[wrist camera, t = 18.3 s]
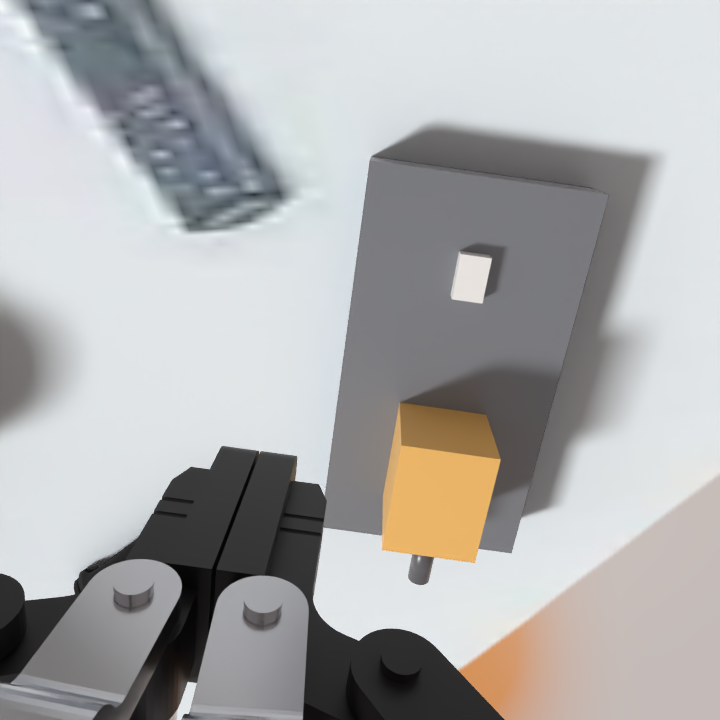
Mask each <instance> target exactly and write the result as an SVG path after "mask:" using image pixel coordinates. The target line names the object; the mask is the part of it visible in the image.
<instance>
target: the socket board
mask: <svg viewBox="0 0 720 720" xmlns="http://www.w3.org/2000/svg"><path fill="white" fill-rule="evenodd" d="M608 197H609V195H608V194H606V193H603V192H600V191H598V190H595V189H592V188H587V187H580V186H573V185H566V184H559V183H552V182H545V181H539V180H532V179H525V178H518V177H511V176H504V175H497V174H490V173H483V172H476V171H469V170H462V169H455V168H448V167H441V166H434V165H427V164H420V163H413V162H406V161H399V160H392V159H385V158H378V157H371V159H370V163H369V171H368V178H367V185H366V193H365V200H364V208H363V215H362V223H361V230H360V238H359V245H358V253H357V260H356V268H355V275H354V283H353V290H352V297H351V305H350V312H349V320H348V327H347V335H346V342H345V350H344V357H343V365H342V372H341V380H340V387H339V395H338V402H337V410H336V417H335V424H334V432H333V439H332V447H331V454H330V462H329V469H328V477H327V484H326V492H325V498H326V500H327V504H326V511H325V519H324V526H323V527H324V528H332V529H339V530H346V531H354V532H361V533H368V534H375V535H382V518H383V493H384V487H385V482H386V476H387V471H388V465H389V459H390V454H391V448H392V442H393V437H394V431H395V426H396V420H397V414H398V409H399V403H407V404H414V405H421V406H428V407H435V408H442V409H449V410H456V411H463V412H470V413H477V414H484V415H487V418H488V421H489V425H490V428H491V431H492V434H493V437H494V440H495V443H496V446H497V449H498V452H499V455H500V459H501V461H500V465H499V469H498V473H497V477H496V481H495V485H494V489H493V493H492V496H491V500H490V504H489V508H488V512H487V516H486V520H485V524H484V528H483V532H482V536H481V540H480V544H479V548H478V549H485V550H492V551H499V552H506V553H512V549H513V545H514V542H515V538H516V534H517V531H518V527H519V523H520V520H521V516H522V512H523V509H524V505H525V501H526V498H527V494H528V490H529V487H530V483H531V479H532V476H533V472H534V468H535V465H536V461H537V457H538V454H539V450H540V446H541V443H542V439H543V435H544V432H545V428H546V424H547V421H548V417H549V413H550V410H551V406H552V402H553V399H554V395H555V391H556V388H557V384H558V380H559V377H560V373H561V369H562V366H563V362H564V358H565V355H566V351H567V347H568V344H569V340H570V336H571V333H572V329H573V325H574V321H575V318H576V314H577V310H578V307H579V303H580V299H581V296H582V292H583V288H584V285H585V281H586V277H587V274H588V270H589V266H590V263H591V259H592V255H593V252H594V248H595V244H596V241H597V237H598V233H599V230H600V226H601V222H602V219H603V215H604V211H605V208H606V204H607V200H608Z"/></svg>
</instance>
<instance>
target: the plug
mask: <svg viewBox="0 0 720 720" xmlns="http://www.w3.org/2000/svg"><path fill="white" fill-rule="evenodd" d="M500 461H501V459H500V455H499V452H498V449H497V446H496V443H495V440H494V437H493V434H492V431H491V428H490V425H489V421H488V418H487V415H484V414H477V413H470V412H463V411H456V410H449V409H442V408H435V407H428V406H421V405H414V404H407V403H399V409H398V414H397V420H396V426H395V431H394V437H393V442H392V448H391V454H390V459H389V465H388V471H387V476H386V482H385V487H384V493H383V518H382V550H386V551H393V552H400V553H407V554H412V559H411V564H410V569H409V574H408V578H409V580H410V581H411V582H413V583H415V584H418V585H424V584H426V583H428V581H429V577H430V573H431V568H432V564H433V559H434V557H436V558H443V559H450V560H457V561H464V562H471V563H475V560H476V556H477V552H478V548H479V544H480V540H481V536H482V532H483V528H484V524H485V520H486V516H487V512H488V508H489V504H490V500H491V496H492V493H493V489H494V485H495V481H496V477H497V473H498V469H499V465H500Z"/></svg>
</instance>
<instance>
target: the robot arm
mask: <svg viewBox="0 0 720 720" xmlns="http://www.w3.org/2000/svg"><path fill="white" fill-rule="evenodd" d="M296 467H297V456H292V455H285V454H277V453H270V452H263V451H261V452H260V454H259V451H255V450H248V449H240V448H233V447H226V446H222V447H221V448H220V450H219V452H218V454H217V456H216V458H215V460H214V462H213V464H212V466H211V468H210V470H209V469H202V468H195V467H190V468H189V469H187V470H186V471H184V472H183V473H182V474H180V475H179V476H177V477H176V478H174V479H173V480H172V481H171V483H170V484H169V486H168V488H167V489H166V491H165V493H164V495H163V496H162V500H160V501H159V503H158V505H157V507H156V508H155V510H154V514H152V515H151V517H150V518H149V520H148V522H147V524H146V525H145V527H144V529H143V530H142V532H141V534H140V536H139V537H138V539H137V541H136V542H135V544H134V546H133V547H132V549H131V551H130V553H129V554H128V556H127V558H126V559H125V561H122V562H119V563H116V564H113V565H111V566H109V567H107V568H105V569H103V570H102V571H100V572H99V573H98V574H96V575H95V576H94V577H93V578H92V579H91V580H90V581H89V583H88V584H87V585H86V587H85V588H84V589H83V591H82V592H81V593H79V594H75V595H71V596H65V597H57V598H47V599H38V600H28V601H25V595H24V590H23V588H22V586H21V584H20V583H19V582H18V581H17V580H15V579H14V578H12V577H10V576H7V575H4V574H0V720H177V709H178V707H179V704H180V702H181V699H182V696H183V693H184V691H185V688H186V685H187V682H195V683H197V685H196V689H195V693H194V697H193V701H192V705H191V709H190V712H189V714H184V715H183V717H182V720H504V719H503V718H502V717H501V716H500V715H499V713H498V712H497V711H496V710H495V709H494V708H493V707H492V706H491V705H490V704H489V703H488V702H487V701H486V700H485V699H484V698H483V697H482V696H481V695H480V693H479V692H478V691H477V690H476V689H475V688H474V687H473V686H472V685H471V684H470V683H469V682H468V681H467V680H466V679H465V678H464V677H463V675H462V674H461V673H460V672H459V671H458V670H457V669H456V668H455V667H454V666H453V665H452V664H451V663H450V662H449V661H448V660H447V659H446V658H445V656H444V655H443V654H442V653H441V652H440V651H439V650H438V649H437V648H436V647H435V646H434V645H433V644H432V643H430V642H429V641H428V640H426V639H425V638H423V637H421V636H419V635H417V634H415V633H412V632H410V631H406V630H401V629H382V630H377V631H374V632H372V633H369V634H368V635H366V636H364V637H363V638H362V639H361V640H360V641H358V640H355V639H353V638H351V637H348V636H346V635H344V634H342V633H340V632H338V631H336V630H335V629H333V628H332V627H330V626H329V625H328V624H327V623H326V622H325V621H324V620H323V619H322V618H321V617H320V616H319V614H318V612H317V611H316V609H315V606H314V603H313V595H314V589H315V582H316V576H317V570H318V563H319V556H320V548H321V541H322V534H323V526H324V519H325V511H326V504H327V500H326V498H325V496H324V494H323V492H322V490H321V488H320V486H319V484H312V483H305V482H297V481H295V476H296Z"/></svg>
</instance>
